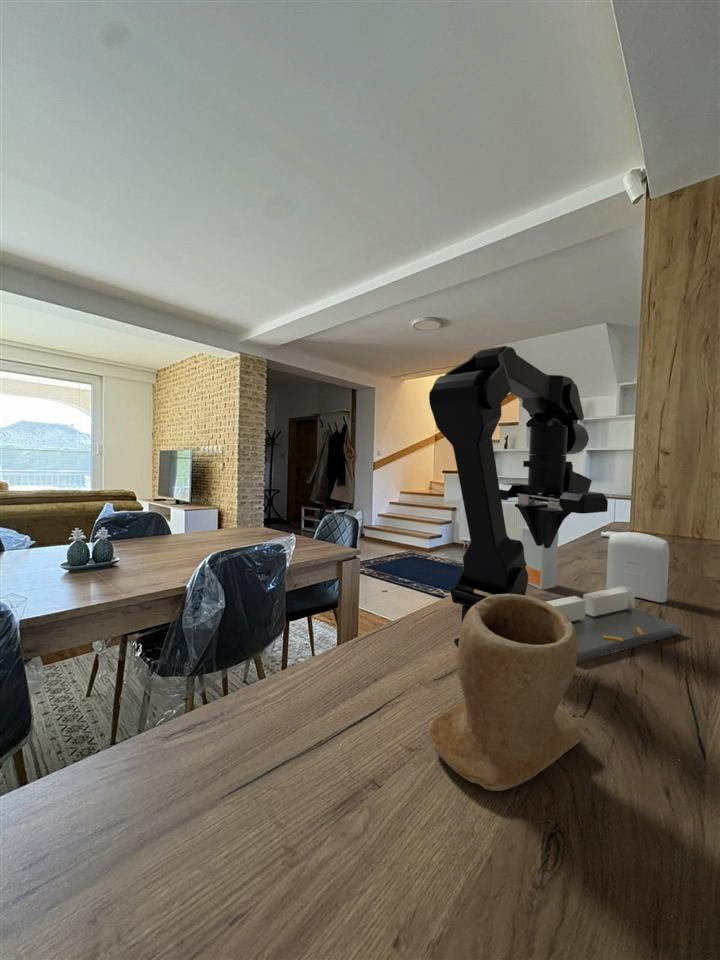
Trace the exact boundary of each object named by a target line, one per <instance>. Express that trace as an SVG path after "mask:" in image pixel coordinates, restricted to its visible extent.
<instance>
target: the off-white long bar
mask: <svg viewBox="0 0 720 960" xmlns="http://www.w3.org/2000/svg"><path fill="white" fill-rule="evenodd" d="M635 598H636V597H635V590H633V589H631V588H628V587H624V586H623V587H617V588H613V589H608V590H607V589H603V590H598V591H594V592H588V593H583V597H582V599H584V600H586V605H585V613H586V614H589V615H591V616H598V615H602V614H606V613H611V612H615V611H619V610H624V609H631V608H633V609H634V608H635V602H636V601H635Z"/></svg>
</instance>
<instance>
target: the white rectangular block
mask: <svg viewBox="0 0 720 960" xmlns="http://www.w3.org/2000/svg"><path fill="white" fill-rule="evenodd" d="M545 602H547V603H549V604H550V605H552V606H554V607H556V608H557V609H558V610H560V611H561V612H562V613H563V614H564V615H565V616H566V617H567V618H568V619H569V620H570V621H576V620H580V619H584V618H585V605H586V600H584V599H583V597H582V598H581V597H579V596H576V595H572V596H567V597H563V598H558V599H553V600H547V601H545Z"/></svg>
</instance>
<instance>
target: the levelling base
mask: <svg viewBox="0 0 720 960" xmlns="http://www.w3.org/2000/svg"><path fill="white" fill-rule="evenodd" d="M571 623H572V624H573V626H574V627H575V630H576V634H577V640H578V648H577V663H576V665H577V664H580V663H584V662H588V661H591V660H594V658H595V659H597V658H596V657H598V658H600V657H599V656H601V655H605V654H608V653H611V652H614V651H618V650H622V649H626V648H630V649H632V648H631V647H633V648H635V646H637V647H639V646H638V645H640V646H643V645H642V644H644V645H646V644H650V643H649V642H651V643H653V641H654V642H657V641H656V640H658V641H660V640H659V639H661V640H664V639H663V638H665V639H667V638H666V637H668V638H671V637H670V636H672V637H674V636H673V635H675V636H677V635H676V634H678V635H679V630H680V629H679V627H680V625H679V624H676V623H674V622H672V621H668V620H665V619H663V618H660V617H657V616H654V615H653V614H649V613H647V612H643V611H641V610H638V609H637V608H634V607H633V608H631V609H624V610H619V611H615V612H611V613H606V614H602V615H598V616H591V615H589V614H586V613H585V618H584V619H580V620H576V621H571ZM626 650H627V649H626ZM605 656H606V655H605Z"/></svg>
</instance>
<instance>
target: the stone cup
mask: <svg viewBox="0 0 720 960" xmlns="http://www.w3.org/2000/svg"><path fill="white" fill-rule="evenodd" d="M458 638H459V644H458V645H457V657H456V659H457V671H458V673H457V674H458V679H459V682H460V686H461V689H462V692H463V698H464V701H463V702H460V703H458V704H456V705H454V706H452V707H450V708H448V709H447V710H445V711H443V712H442V713H440V714H438V715H437V716H436V717H435V718H434V719H433V720H431V722H429V724H428V727H427V733H428V738H429V740H430V743H431V745H432V747H433V749H434V750H435V752H436V753H437V754H438V756H439V757H440V758H441V759H442V760H443V761H444V763H446V764H447V766H448V767H449V768H451V769H452V770H453V771H454V772H456V774H458V775H459V776H460V777H461V778H463V779H465V780H467V781H469V782H470V783H473V784H477V785H479V786H480V787H482V788H484V789H485V790H488V791H493V792H495V791H496V792H499V791H500V792H501V791H506V790H509V789H511V788H515V787H517V786H520V785H521V784H523V783H526V782H527V781H529V780H531V779H532V778H534V777H536V776H537V775H539V773H541V772H542V771H544V770H545V769H546V768H548V767H549V766H551V765H552V764H554V763H555V762H556V761H557V760H558V759H560V758H561V757H562V756H564V755H565V753H567V752H568V751H569V750H571V749H572V748H574V747H575V746H576V745H578V744H579V743H580V741H581V740H582V739H583V738H584V737H583V734H582V731H581V729H580V728H579V727H578V725H577V722H576V721H574V720H573V719H572V718H571V716H570V715H569V714H568V712H567V711H566V710H565V709H564V707H562V706H561V705H560V703H561V701H562V699H563V697H564V695H565V693H566V691H568V690H567V689H569V687H570V685H571V682H572V680H573V677H574V674H575V672H576V666H577V664H578V663H577V648H578V640H577V634H576V630H575V627H574V626H573V624H572V623H571V621H570V620H569V619H568V618H567V617H566V616H565V615H564V614H563V613H562V612H561V611H560V610H558V609H557V608H556V607H554V606H552V605H550V604H549V603H547V602H546V601H545V600H542V599H539V598H536V597H532V596H529V595H526V594H525V595H518V594H496V595H492V594H491V595H490V596H488V597H486V598H484V599H483V600H481V601H479V602H478V603H476V604H475V605H473V606H472V607H471V608H470V609H469V610H468V612H467V614H466V615H465V617H464V619H463V622H462V621H461V626H460V633H459V637H458ZM576 663H577V664H576Z"/></svg>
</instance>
